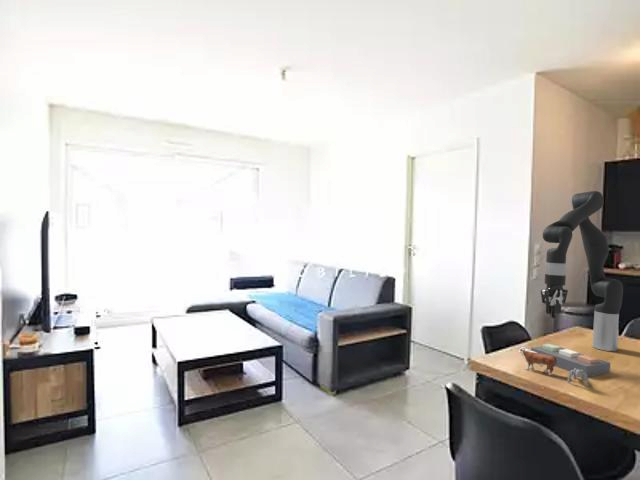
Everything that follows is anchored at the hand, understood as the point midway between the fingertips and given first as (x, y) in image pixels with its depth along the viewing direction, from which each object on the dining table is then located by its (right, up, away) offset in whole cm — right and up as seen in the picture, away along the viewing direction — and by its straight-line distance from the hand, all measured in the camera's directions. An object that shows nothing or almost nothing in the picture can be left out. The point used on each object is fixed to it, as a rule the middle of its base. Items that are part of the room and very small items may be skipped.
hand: (553, 313), depth 159 cm
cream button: (+2, -17, -6) cm, 19 cm away
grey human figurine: (-7, -20, -26) cm, 33 cm away
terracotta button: (+5, -18, -13) cm, 23 cm away
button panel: (+2, -20, -6) cm, 21 cm away
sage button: (-1, -17, 0) cm, 17 cm away
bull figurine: (-16, -19, -15) cm, 29 cm away
